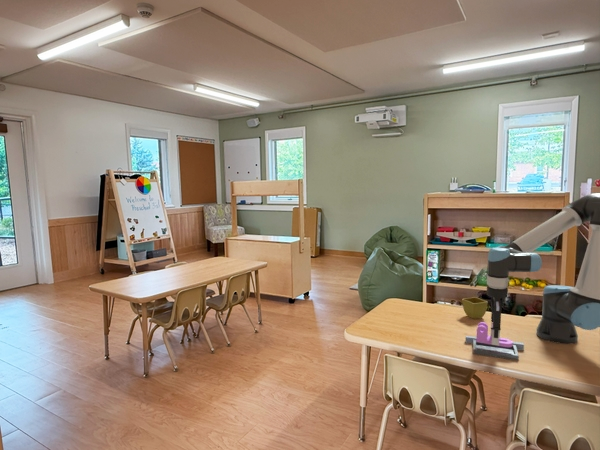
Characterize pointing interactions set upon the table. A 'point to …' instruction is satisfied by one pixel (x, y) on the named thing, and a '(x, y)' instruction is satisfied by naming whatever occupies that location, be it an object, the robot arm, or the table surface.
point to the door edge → (518, 345)
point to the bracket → (484, 338)
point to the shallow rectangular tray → (495, 351)
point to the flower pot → (474, 307)
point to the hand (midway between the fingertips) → (494, 341)
